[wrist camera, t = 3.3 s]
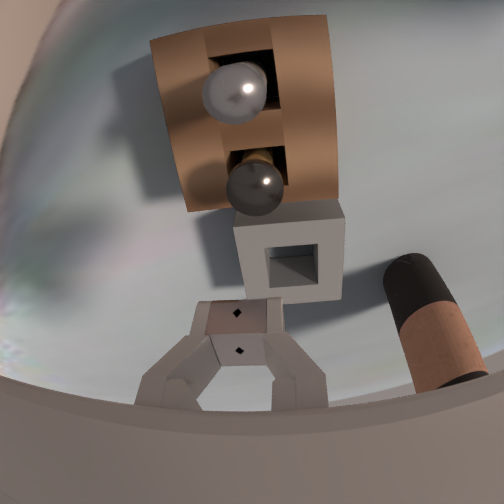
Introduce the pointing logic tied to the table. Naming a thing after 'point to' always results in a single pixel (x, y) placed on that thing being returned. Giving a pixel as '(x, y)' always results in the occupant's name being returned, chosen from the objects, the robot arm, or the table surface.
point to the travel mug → (430, 326)
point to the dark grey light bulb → (255, 183)
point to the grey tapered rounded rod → (235, 92)
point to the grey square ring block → (293, 268)
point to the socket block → (266, 122)
